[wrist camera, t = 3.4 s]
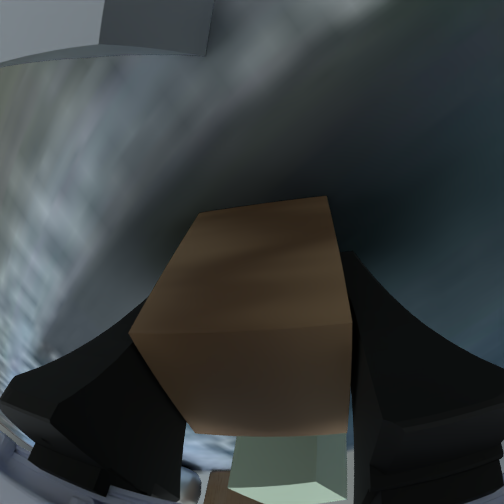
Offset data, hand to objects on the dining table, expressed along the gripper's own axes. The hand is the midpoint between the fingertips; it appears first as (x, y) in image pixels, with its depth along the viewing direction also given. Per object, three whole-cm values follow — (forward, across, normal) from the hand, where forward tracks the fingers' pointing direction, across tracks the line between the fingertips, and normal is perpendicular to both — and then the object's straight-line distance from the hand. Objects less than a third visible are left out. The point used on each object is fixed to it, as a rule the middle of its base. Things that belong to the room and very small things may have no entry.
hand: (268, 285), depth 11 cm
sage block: (+2, 0, +10) cm, 10 cm away
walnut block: (+2, 0, 0) cm, 2 cm away
